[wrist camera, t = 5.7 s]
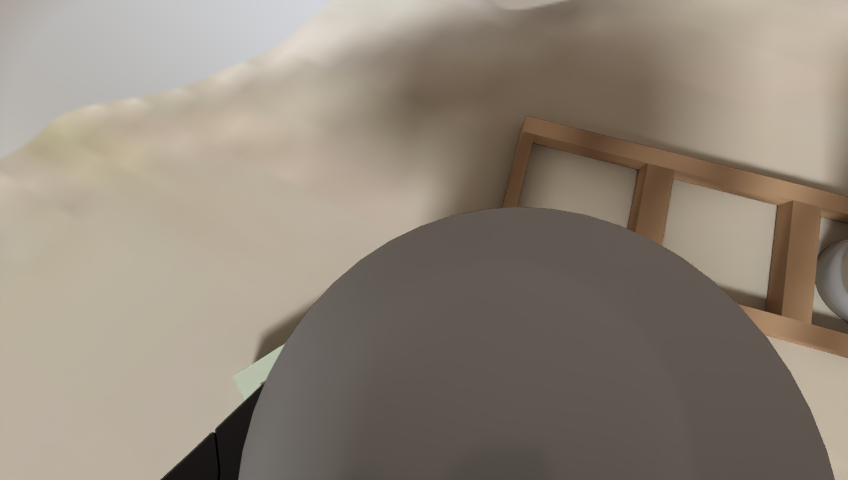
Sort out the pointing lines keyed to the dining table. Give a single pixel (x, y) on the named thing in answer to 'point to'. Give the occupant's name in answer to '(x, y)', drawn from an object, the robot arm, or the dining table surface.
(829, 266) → the cylinder
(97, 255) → the dining table surface
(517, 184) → the wooden fuse rack
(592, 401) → the ball
